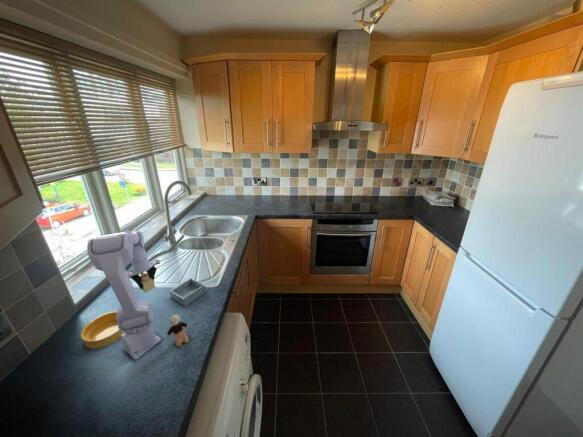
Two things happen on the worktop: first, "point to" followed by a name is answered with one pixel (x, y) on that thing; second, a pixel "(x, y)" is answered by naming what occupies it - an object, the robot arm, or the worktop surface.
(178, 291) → the tub
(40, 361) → the worktop surface
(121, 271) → the robot arm
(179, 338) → the grandmother figurine
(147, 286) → the toy
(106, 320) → the bowl
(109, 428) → the worktop surface
